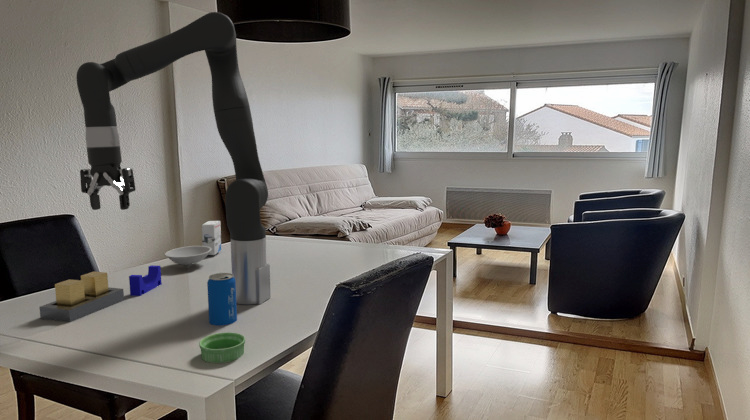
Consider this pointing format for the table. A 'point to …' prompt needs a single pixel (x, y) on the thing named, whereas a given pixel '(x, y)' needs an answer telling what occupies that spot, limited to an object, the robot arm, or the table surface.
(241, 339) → the ramekin
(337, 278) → the table surface
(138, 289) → the cable clip
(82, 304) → the grey flat open box
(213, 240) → the ink box
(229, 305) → the beverage can
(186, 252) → the dish
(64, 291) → the wooden toy block
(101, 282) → the beige cube
